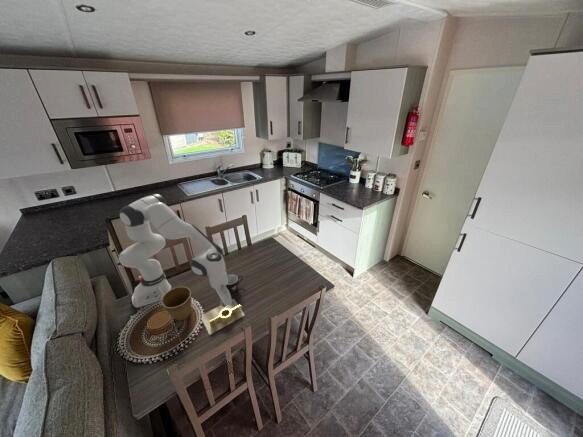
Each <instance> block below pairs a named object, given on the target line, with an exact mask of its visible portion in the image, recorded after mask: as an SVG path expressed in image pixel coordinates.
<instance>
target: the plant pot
mask: <svg viewBox="0 0 583 437" xmlns="http://www.w3.org/2000/svg"><path fill="white" fill-rule="evenodd" d="M191 291H192V290H190V288H188V287H187V286H178V287H174V288H171V290H170V291H168V292H167V293H166V294H165V295H164V296H163V298H162V300H161V305H162V306H163V308H164V309H165V310H166V311H167V313H168V314H169V315H170V316H171V317H172V318H174V319H175V320H177V321H181V322H182V321H185V320H186V319H188V318H189V317H190V315H191V312H192V311H191V310H192V292H191Z"/></svg>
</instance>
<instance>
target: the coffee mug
mask: <svg viewBox="0 0 583 437" xmlns="http://www.w3.org/2000/svg"><path fill="white" fill-rule="evenodd" d="M227 277H228V283H227V285H226V287H227V289H228V290H229V292H230V295H231V294H236V293H237V292H238V289H239V288H238V287H239V286H238V285H239V284H240V283H241V282H242V280H243V275H239V276H237V275H236V274H229V275H228V274H227ZM239 279H240V280H239Z"/></svg>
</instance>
